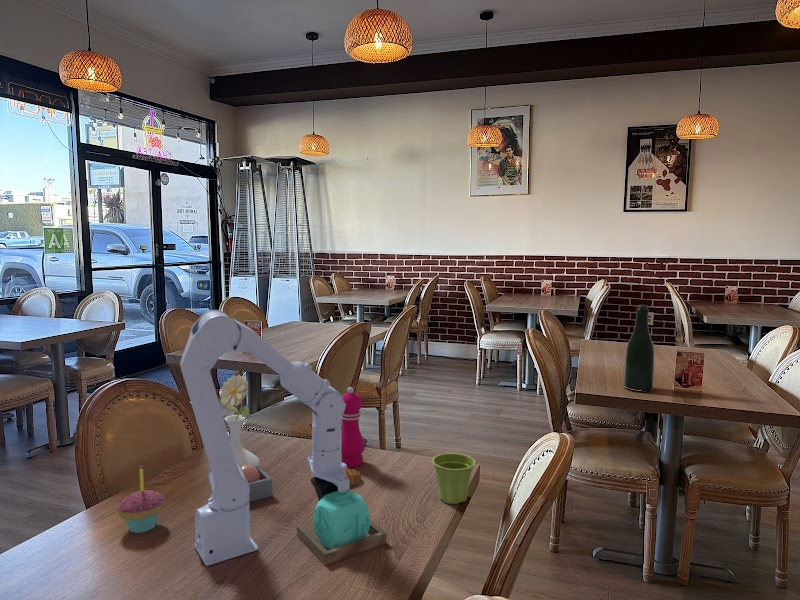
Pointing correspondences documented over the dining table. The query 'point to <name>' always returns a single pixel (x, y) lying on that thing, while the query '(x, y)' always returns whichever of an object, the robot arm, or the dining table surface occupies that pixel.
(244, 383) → the flower in vase
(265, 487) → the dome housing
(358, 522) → the decorative dice
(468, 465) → the plant pot
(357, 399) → the pepper mill
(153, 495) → the cupcake
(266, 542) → the dining table surface
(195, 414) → the robot arm
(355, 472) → the pastry
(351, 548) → the frame
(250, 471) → the pop dome
